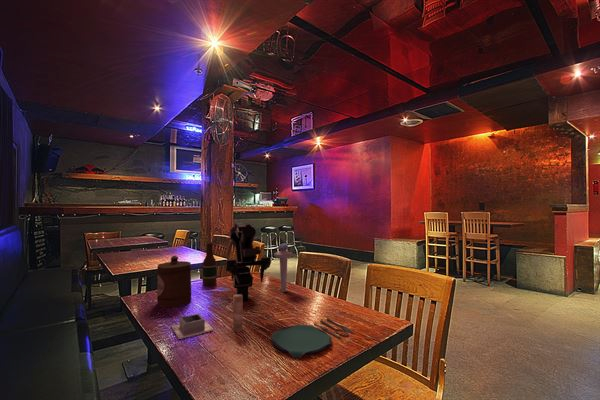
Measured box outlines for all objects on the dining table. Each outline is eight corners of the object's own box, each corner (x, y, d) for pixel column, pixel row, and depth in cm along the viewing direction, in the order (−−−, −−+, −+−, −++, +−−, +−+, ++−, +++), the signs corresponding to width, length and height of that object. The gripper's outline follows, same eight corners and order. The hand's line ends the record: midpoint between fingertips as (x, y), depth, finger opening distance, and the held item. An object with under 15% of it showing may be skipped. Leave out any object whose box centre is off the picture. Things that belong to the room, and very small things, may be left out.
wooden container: (160, 298, 142) (160, 254, 142) (192, 295, 146) (192, 252, 146) (154, 309, 128) (154, 259, 128) (189, 306, 132) (189, 258, 132)
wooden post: (231, 328, 108) (231, 295, 108) (240, 326, 110) (240, 293, 110) (235, 332, 105) (235, 298, 105) (244, 329, 107) (244, 296, 107)
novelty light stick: (287, 295, 146) (287, 246, 146) (270, 292, 151) (270, 245, 151) (296, 289, 155) (296, 243, 155) (280, 287, 160) (280, 242, 160)
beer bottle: (219, 283, 169) (219, 242, 169) (211, 286, 161) (211, 244, 162) (208, 281, 171) (208, 241, 171) (199, 285, 164) (199, 243, 164)
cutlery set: (260, 339, 100) (261, 333, 100) (325, 319, 118) (325, 314, 118) (293, 366, 84) (294, 359, 84) (363, 339, 102) (363, 332, 102)
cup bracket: (171, 327, 109) (171, 317, 109) (203, 320, 116) (203, 310, 116) (178, 340, 99) (178, 328, 99) (213, 331, 106) (213, 320, 106)
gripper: (226, 240, 119) (229, 275, 109) (270, 238, 125) (276, 271, 115) (224, 254, 127) (226, 288, 117) (266, 251, 133) (271, 283, 124)
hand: (250, 282), depth 118 cm, fingers open, 9 cm apart
